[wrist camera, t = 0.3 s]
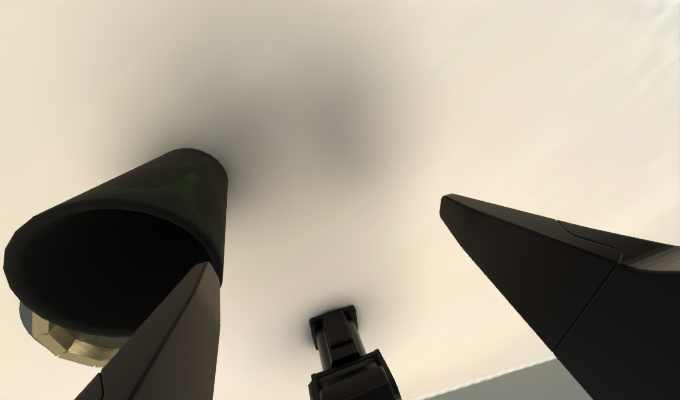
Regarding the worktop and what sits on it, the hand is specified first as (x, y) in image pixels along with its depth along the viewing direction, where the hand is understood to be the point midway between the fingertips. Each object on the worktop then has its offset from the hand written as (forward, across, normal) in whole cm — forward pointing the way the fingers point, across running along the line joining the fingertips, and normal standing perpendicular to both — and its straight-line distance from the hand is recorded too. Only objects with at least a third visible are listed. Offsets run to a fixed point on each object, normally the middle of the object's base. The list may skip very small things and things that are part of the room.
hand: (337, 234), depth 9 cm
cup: (+15, +9, +2) cm, 18 cm away
